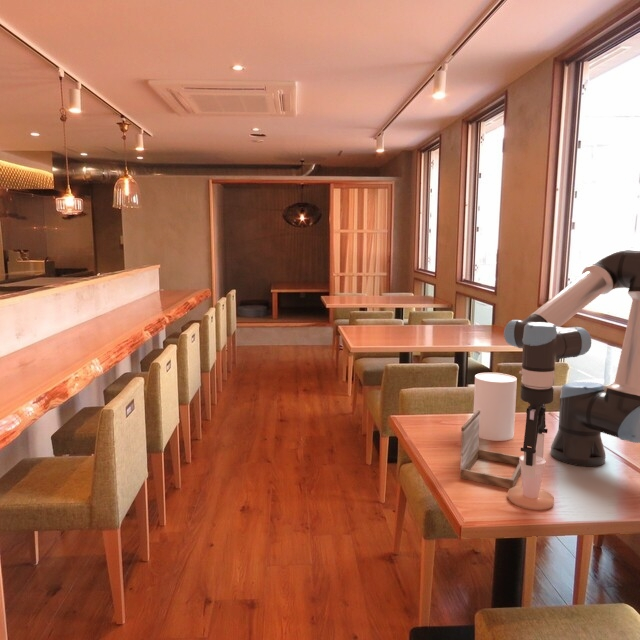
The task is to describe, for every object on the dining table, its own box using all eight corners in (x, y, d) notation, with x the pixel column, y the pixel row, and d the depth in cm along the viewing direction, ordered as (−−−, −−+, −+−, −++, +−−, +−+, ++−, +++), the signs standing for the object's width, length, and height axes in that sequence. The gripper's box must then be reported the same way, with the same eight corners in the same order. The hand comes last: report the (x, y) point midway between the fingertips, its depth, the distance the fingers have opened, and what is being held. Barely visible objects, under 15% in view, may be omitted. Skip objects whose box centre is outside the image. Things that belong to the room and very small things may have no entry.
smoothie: (546, 502, 133) (550, 448, 131) (519, 499, 135) (522, 446, 133) (541, 490, 140) (544, 439, 138) (515, 488, 141) (518, 437, 139)
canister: (508, 443, 176) (511, 384, 173) (467, 436, 183) (470, 378, 180) (517, 431, 187) (520, 375, 185) (478, 424, 194) (481, 370, 192)
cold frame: (524, 465, 159) (527, 417, 157) (512, 489, 143) (515, 436, 141) (471, 454, 167) (473, 409, 164) (454, 476, 151) (456, 426, 149)
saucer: (556, 496, 139) (556, 491, 139) (550, 514, 130) (551, 509, 130) (512, 486, 145) (512, 482, 145) (503, 503, 135) (504, 499, 135)
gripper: (529, 372, 146) (526, 447, 149) (511, 396, 124) (508, 482, 127) (559, 375, 142) (555, 452, 145) (546, 400, 121) (542, 489, 124)
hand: (533, 466), depth 136 cm, fingers open, 13 cm apart
